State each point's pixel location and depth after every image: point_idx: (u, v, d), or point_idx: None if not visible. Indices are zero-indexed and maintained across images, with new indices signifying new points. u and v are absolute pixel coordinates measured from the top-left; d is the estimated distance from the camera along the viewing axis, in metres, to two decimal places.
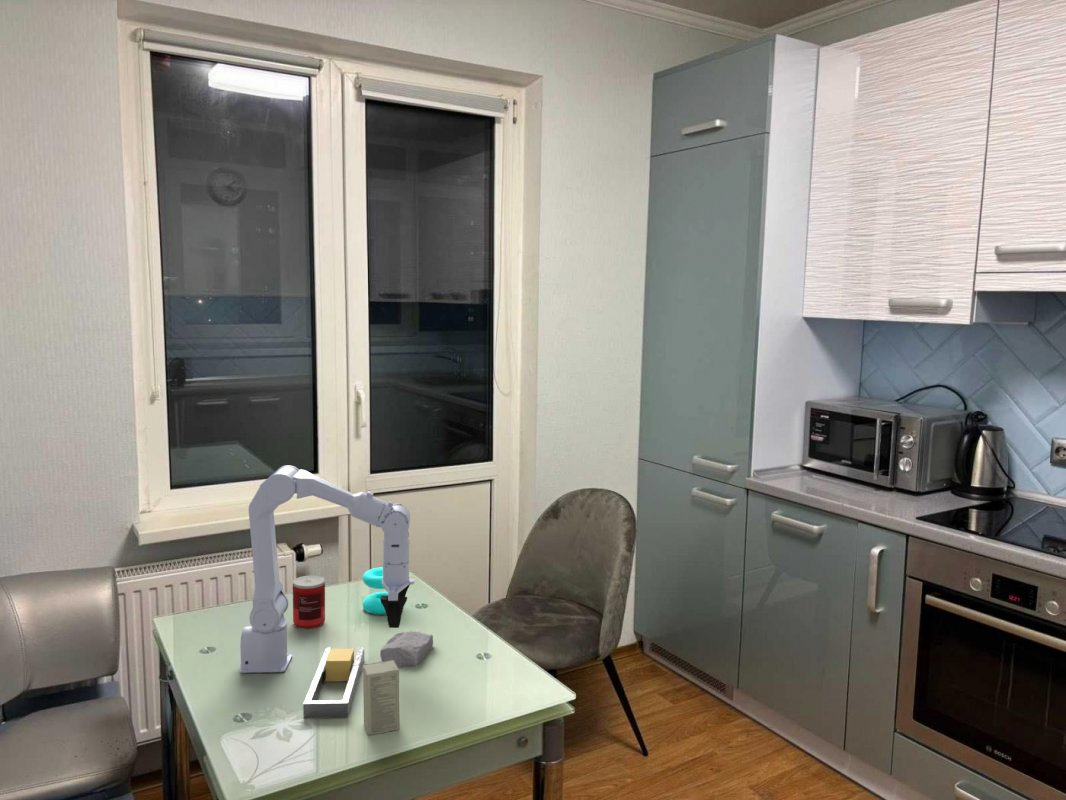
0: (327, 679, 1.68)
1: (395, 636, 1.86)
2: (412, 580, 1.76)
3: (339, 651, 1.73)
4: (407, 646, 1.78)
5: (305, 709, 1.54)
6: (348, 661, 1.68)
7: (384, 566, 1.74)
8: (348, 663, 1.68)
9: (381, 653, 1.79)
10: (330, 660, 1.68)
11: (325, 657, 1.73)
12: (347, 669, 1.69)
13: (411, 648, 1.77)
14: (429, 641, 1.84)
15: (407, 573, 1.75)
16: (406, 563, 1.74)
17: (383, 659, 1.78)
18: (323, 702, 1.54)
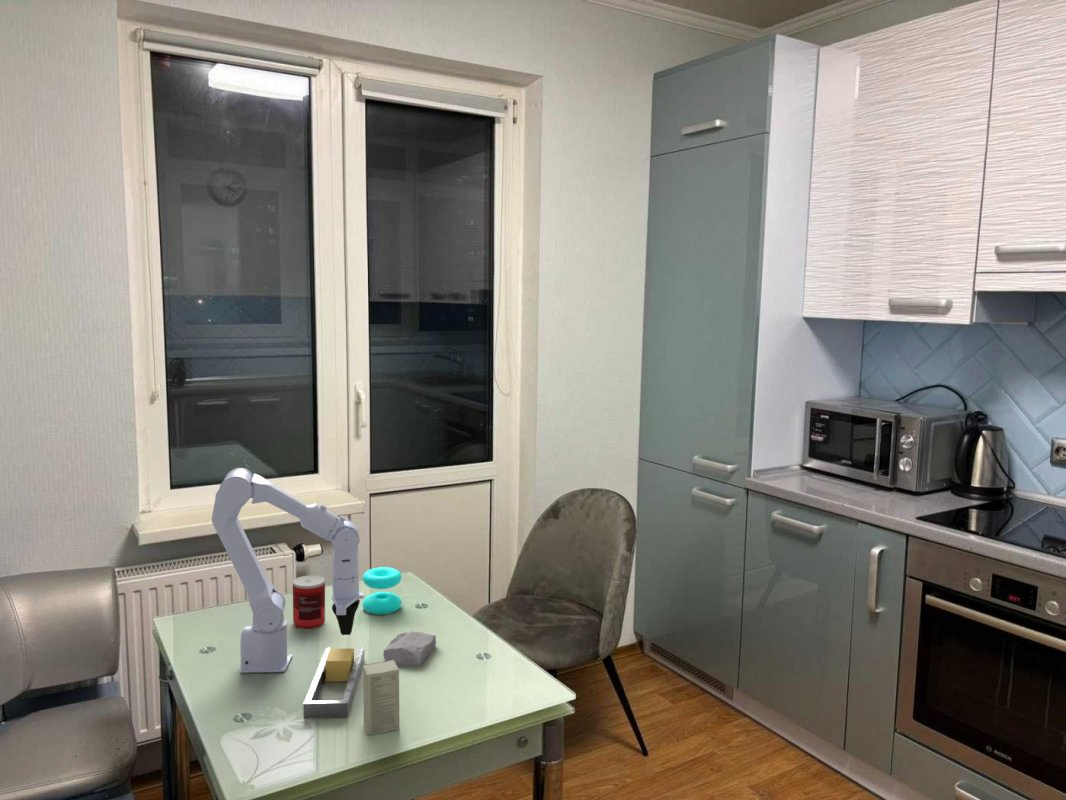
0: (327, 679, 1.68)
1: (398, 636, 1.86)
2: (362, 594, 1.78)
3: (339, 651, 1.73)
4: (410, 646, 1.78)
5: (305, 709, 1.54)
6: (348, 661, 1.68)
7: (333, 581, 1.76)
8: (348, 663, 1.68)
9: (384, 653, 1.79)
10: (330, 660, 1.68)
11: (325, 657, 1.73)
12: (347, 669, 1.69)
13: (414, 648, 1.77)
14: (432, 641, 1.84)
15: (356, 587, 1.77)
16: (355, 577, 1.76)
17: (386, 659, 1.78)
18: (323, 702, 1.54)
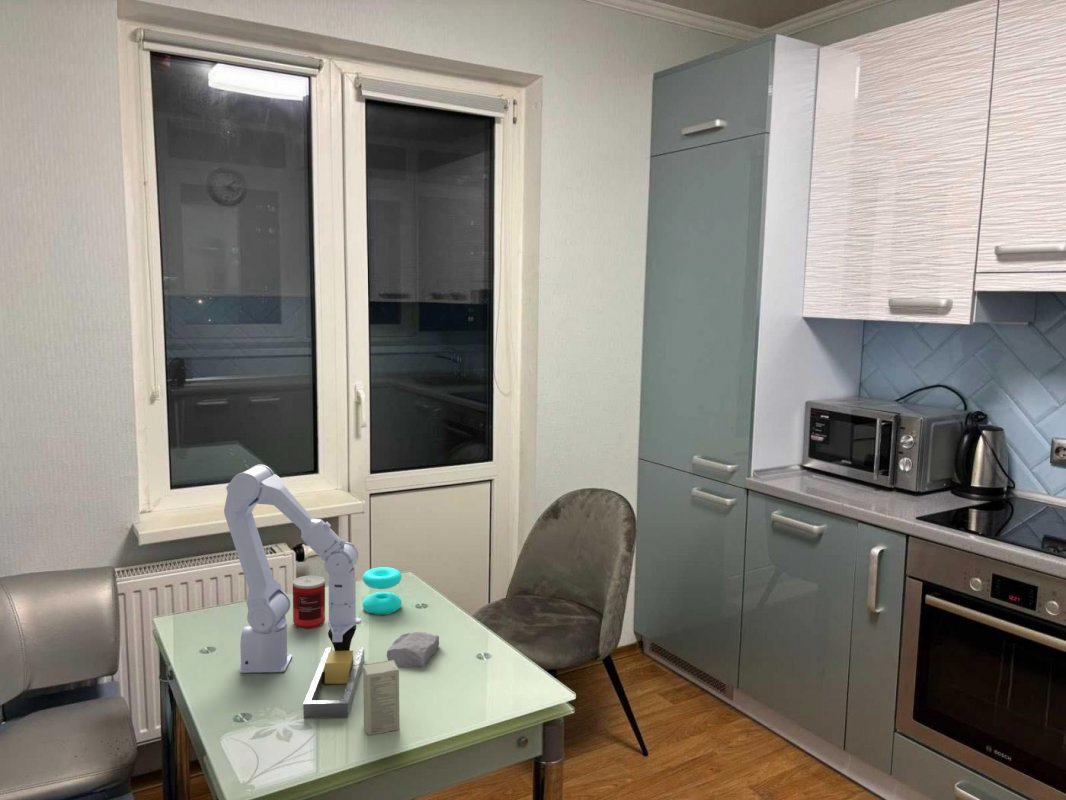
0: (326, 681, 1.67)
1: (401, 637, 1.86)
2: (359, 620, 1.74)
3: (338, 653, 1.72)
4: (414, 646, 1.78)
5: (305, 709, 1.54)
6: (347, 663, 1.67)
7: (329, 606, 1.72)
8: (347, 665, 1.67)
9: (388, 654, 1.79)
10: (329, 662, 1.67)
11: (325, 657, 1.73)
12: (347, 671, 1.68)
13: (417, 649, 1.77)
14: (435, 642, 1.84)
15: (353, 613, 1.73)
16: (352, 603, 1.72)
17: None
18: (323, 702, 1.54)
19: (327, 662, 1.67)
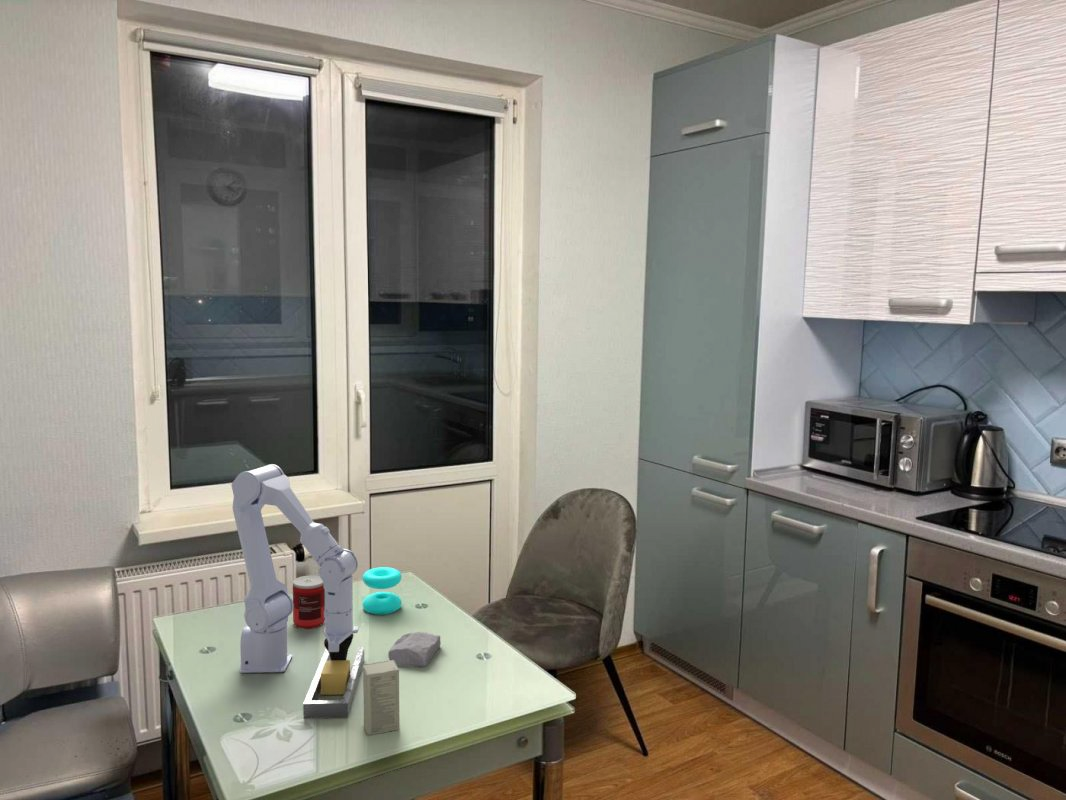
0: (322, 692, 1.63)
1: (402, 637, 1.86)
2: (356, 628, 1.69)
3: (334, 663, 1.67)
4: (415, 646, 1.78)
5: (305, 709, 1.54)
6: (344, 674, 1.63)
7: (326, 615, 1.67)
8: (344, 676, 1.63)
9: (389, 654, 1.78)
10: (325, 672, 1.63)
11: (325, 657, 1.73)
12: (343, 682, 1.63)
13: (419, 649, 1.77)
14: (437, 642, 1.84)
15: (350, 621, 1.68)
16: (349, 611, 1.67)
17: None
18: (323, 702, 1.54)
19: (323, 672, 1.63)
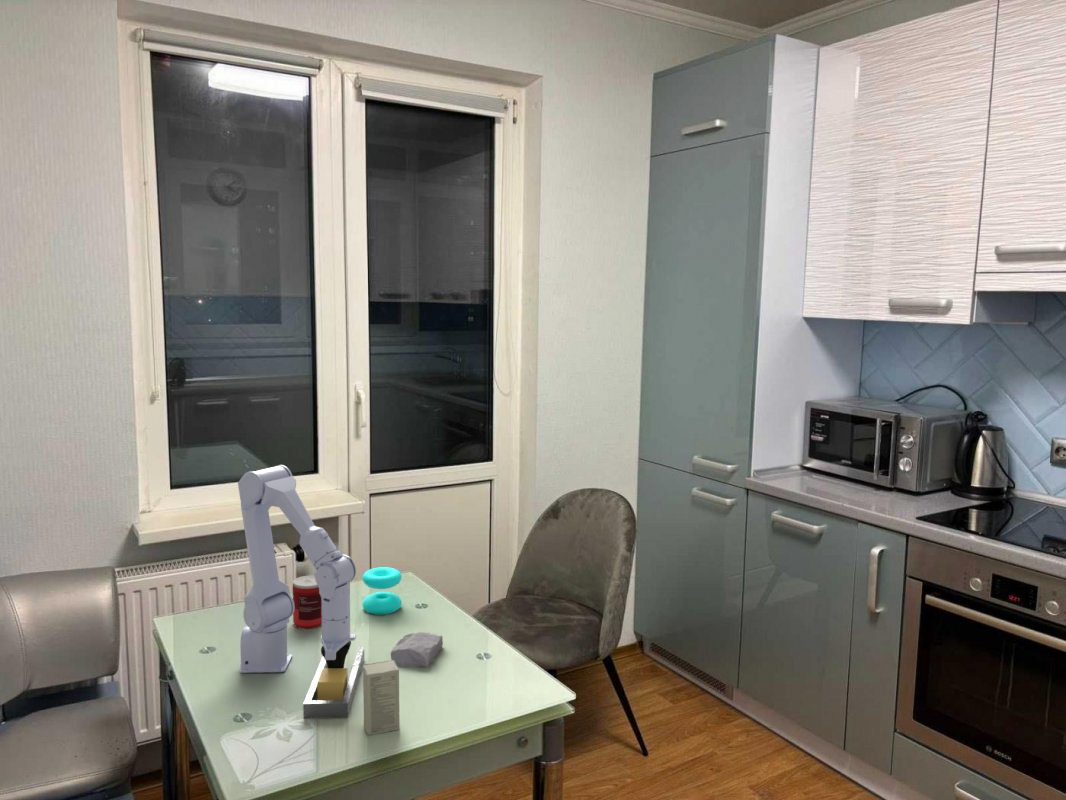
0: None
1: (404, 637, 1.86)
2: (353, 636, 1.65)
3: (331, 671, 1.63)
4: (418, 647, 1.77)
5: (305, 709, 1.54)
6: (341, 682, 1.59)
7: (323, 622, 1.63)
8: (341, 684, 1.59)
9: (392, 654, 1.78)
10: (322, 681, 1.59)
11: None
12: (340, 691, 1.59)
13: (422, 649, 1.77)
14: (439, 642, 1.84)
15: (347, 629, 1.64)
16: (346, 618, 1.64)
17: (394, 660, 1.78)
18: (323, 702, 1.54)
19: (320, 681, 1.59)
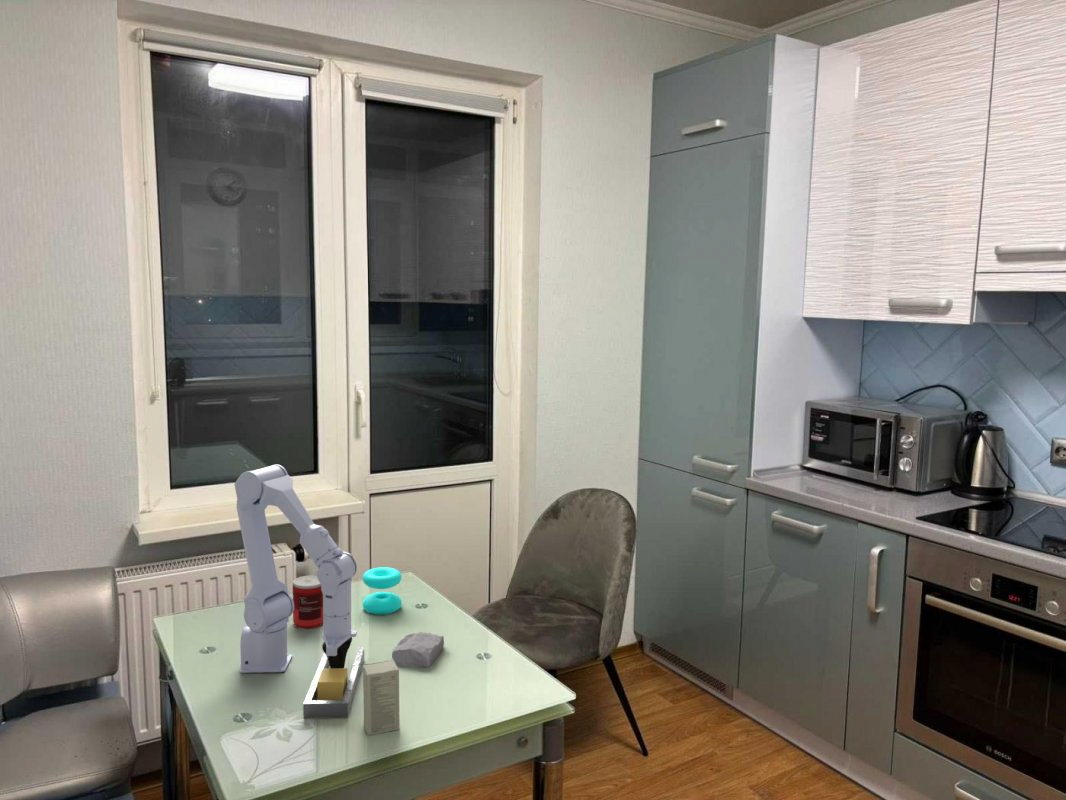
0: None
1: (406, 637, 1.86)
2: (354, 632, 1.67)
3: (331, 671, 1.63)
4: (419, 647, 1.77)
5: (305, 709, 1.54)
6: (341, 682, 1.59)
7: (324, 618, 1.65)
8: (341, 684, 1.59)
9: (393, 655, 1.78)
10: (322, 681, 1.59)
11: (325, 657, 1.73)
12: (340, 691, 1.59)
13: (423, 649, 1.77)
14: (440, 642, 1.84)
15: (349, 625, 1.66)
16: (347, 615, 1.66)
17: (395, 661, 1.78)
18: (323, 702, 1.54)
19: (320, 681, 1.59)
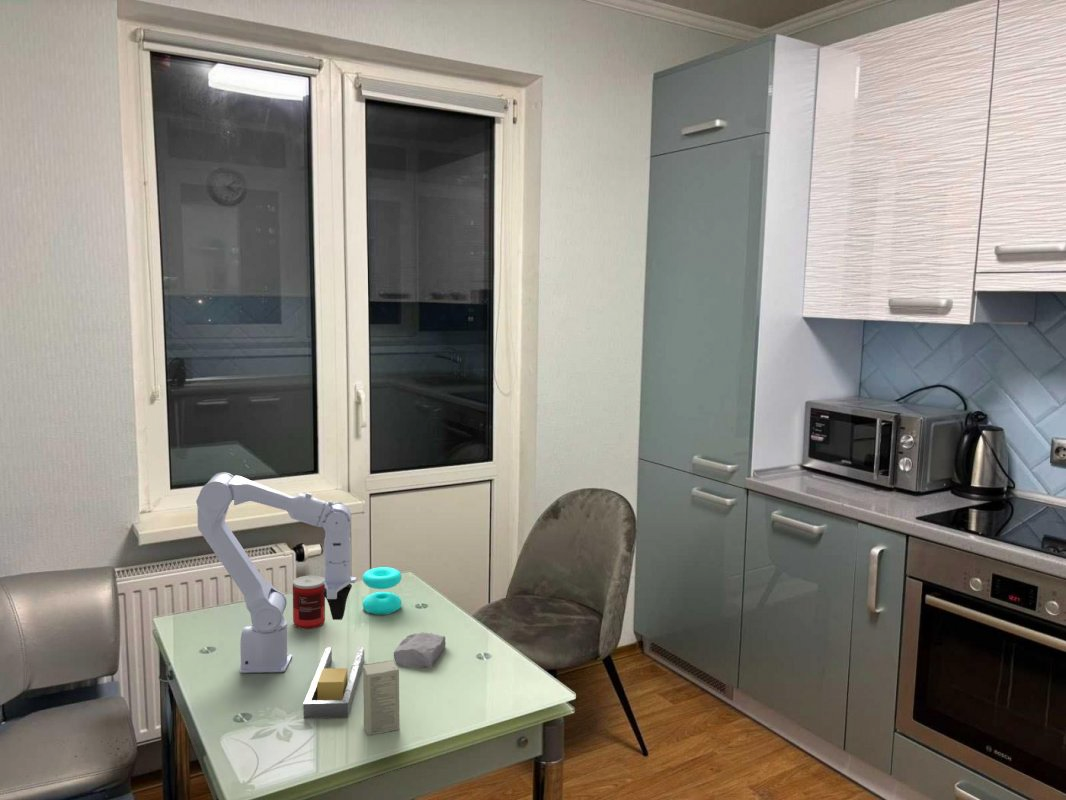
0: None
1: (407, 638, 1.86)
2: (354, 579, 1.76)
3: (331, 671, 1.63)
4: (421, 647, 1.77)
5: (305, 709, 1.54)
6: (341, 682, 1.59)
7: (325, 564, 1.74)
8: (341, 684, 1.59)
9: (395, 655, 1.78)
10: (322, 681, 1.59)
11: (325, 657, 1.73)
12: (340, 691, 1.59)
13: (425, 650, 1.77)
14: (442, 642, 1.84)
15: (348, 572, 1.75)
16: (347, 562, 1.74)
17: (397, 661, 1.78)
18: (323, 702, 1.54)
19: (320, 681, 1.59)
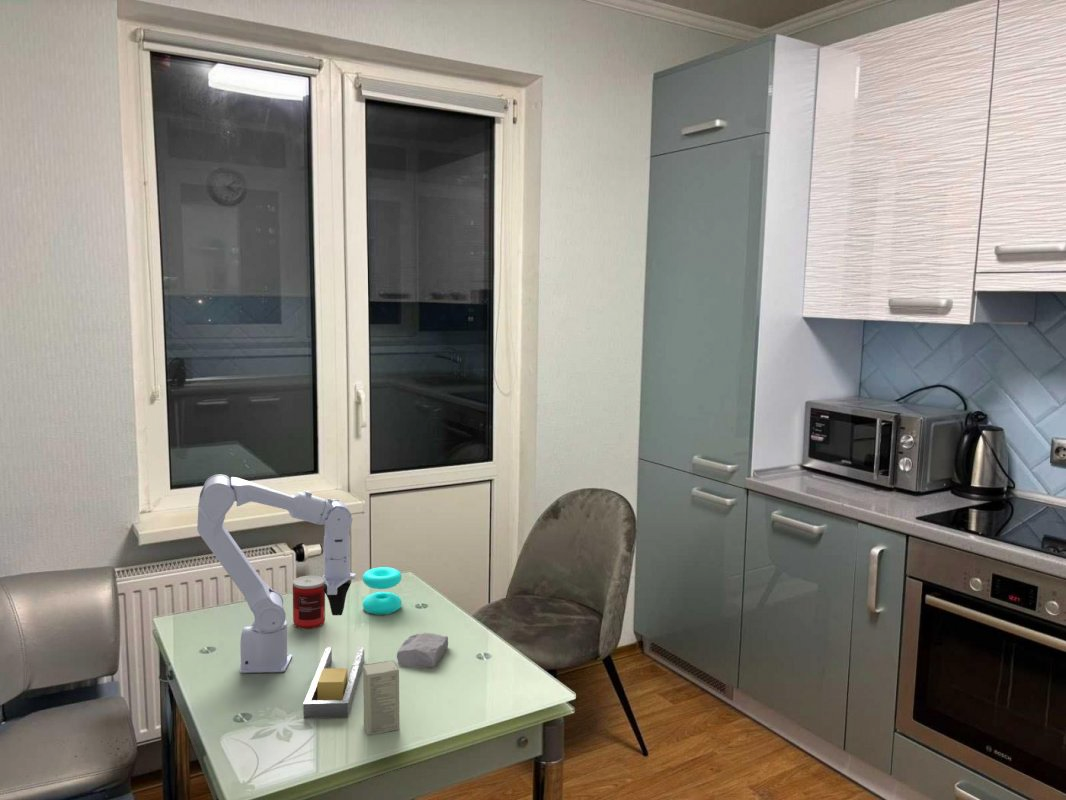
0: None
1: (410, 638, 1.86)
2: (353, 575, 1.79)
3: (331, 671, 1.63)
4: (424, 647, 1.77)
5: (305, 709, 1.54)
6: (341, 682, 1.59)
7: (325, 561, 1.76)
8: (341, 684, 1.59)
9: (398, 655, 1.78)
10: (322, 681, 1.59)
11: (325, 657, 1.73)
12: (340, 691, 1.59)
13: (428, 650, 1.77)
14: (445, 642, 1.84)
15: (348, 568, 1.77)
16: (346, 558, 1.77)
17: (400, 661, 1.78)
18: (323, 702, 1.54)
19: (320, 681, 1.59)
